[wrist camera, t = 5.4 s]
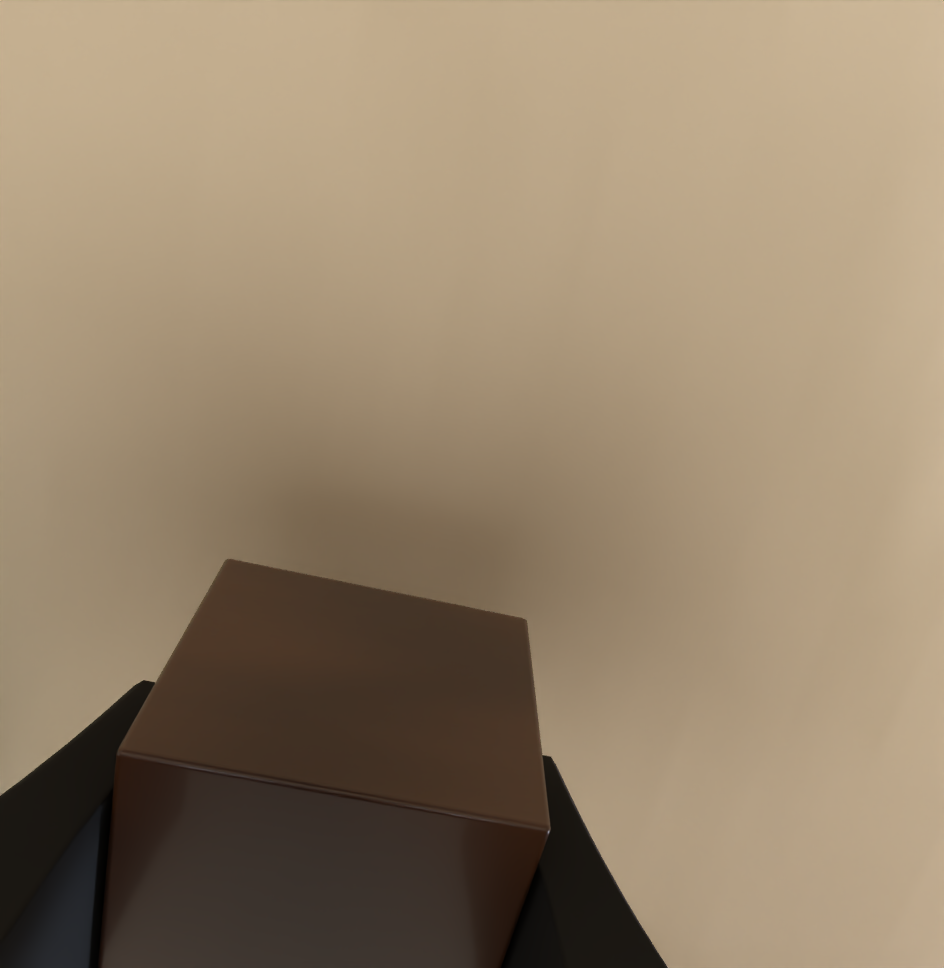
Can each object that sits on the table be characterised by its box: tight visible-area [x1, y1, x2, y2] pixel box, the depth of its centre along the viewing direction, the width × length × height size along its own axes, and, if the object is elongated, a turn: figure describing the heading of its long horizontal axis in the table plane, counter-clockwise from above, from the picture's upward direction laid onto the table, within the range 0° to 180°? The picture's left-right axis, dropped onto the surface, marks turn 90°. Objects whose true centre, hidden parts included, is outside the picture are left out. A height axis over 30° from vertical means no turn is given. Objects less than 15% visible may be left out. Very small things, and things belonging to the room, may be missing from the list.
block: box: [98, 559, 551, 968], centre depth 11 cm, size 4×4×4 cm
